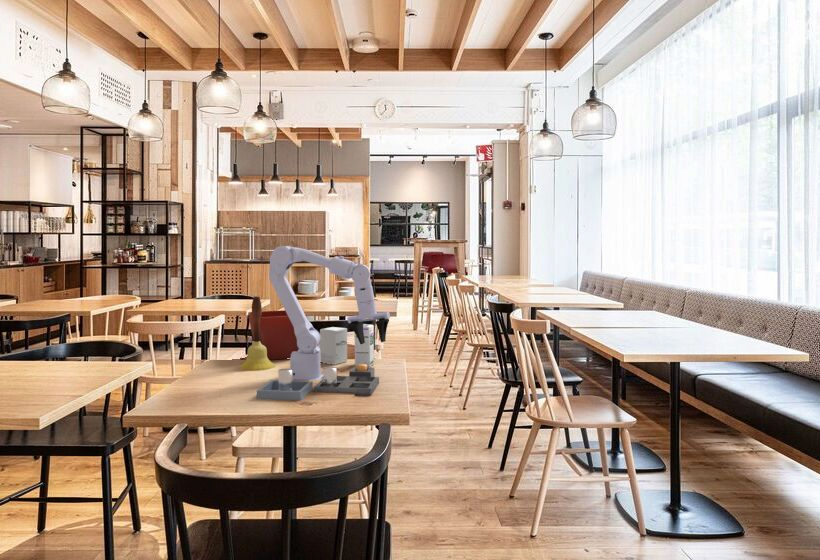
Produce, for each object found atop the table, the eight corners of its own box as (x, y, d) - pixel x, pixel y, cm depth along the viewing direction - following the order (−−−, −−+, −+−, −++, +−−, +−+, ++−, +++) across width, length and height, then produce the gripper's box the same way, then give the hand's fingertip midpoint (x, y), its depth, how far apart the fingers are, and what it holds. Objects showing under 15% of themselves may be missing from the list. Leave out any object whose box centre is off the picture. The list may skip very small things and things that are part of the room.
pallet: (314, 393, 178) (314, 386, 178) (326, 381, 193) (326, 375, 193) (371, 395, 176) (371, 388, 176) (379, 383, 191) (379, 377, 191)
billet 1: (276, 395, 173) (276, 371, 173) (281, 391, 177) (280, 368, 177) (290, 395, 173) (290, 371, 172) (294, 392, 177) (294, 368, 176)
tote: (256, 401, 170) (256, 390, 169) (271, 389, 182) (271, 380, 182) (300, 402, 168) (300, 391, 168) (312, 391, 181) (312, 381, 181)
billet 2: (322, 392, 179) (321, 369, 179) (325, 389, 183) (325, 366, 183) (335, 393, 179) (335, 369, 178) (338, 389, 183) (338, 366, 182)
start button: (356, 375, 196) (356, 365, 195) (358, 372, 199) (358, 363, 199) (365, 375, 195) (366, 366, 195) (367, 373, 198) (367, 364, 198)
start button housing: (349, 380, 194) (349, 371, 194) (353, 375, 201) (353, 367, 201) (370, 381, 193) (370, 372, 193) (374, 376, 200) (374, 367, 200)
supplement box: (335, 365, 217) (335, 330, 216) (319, 363, 221) (319, 328, 220) (347, 361, 224) (347, 328, 223) (332, 359, 228) (332, 326, 227)
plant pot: (248, 353, 238) (247, 311, 237) (296, 350, 245) (296, 309, 244) (256, 363, 220) (255, 317, 219) (307, 359, 228) (307, 315, 227)
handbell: (278, 363, 220) (277, 295, 219) (271, 370, 208) (270, 298, 206) (244, 363, 220) (243, 295, 218) (235, 370, 208) (234, 298, 206)
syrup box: (370, 367, 215) (370, 326, 214) (354, 366, 216) (354, 326, 215) (374, 363, 220) (374, 324, 219) (358, 363, 222) (358, 323, 221)
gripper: (391, 297, 196) (397, 338, 197) (352, 301, 201) (359, 341, 202) (381, 300, 189) (388, 342, 190) (341, 305, 195) (348, 346, 196)
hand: (372, 342), depth 196 cm, fingers open, 7 cm apart
